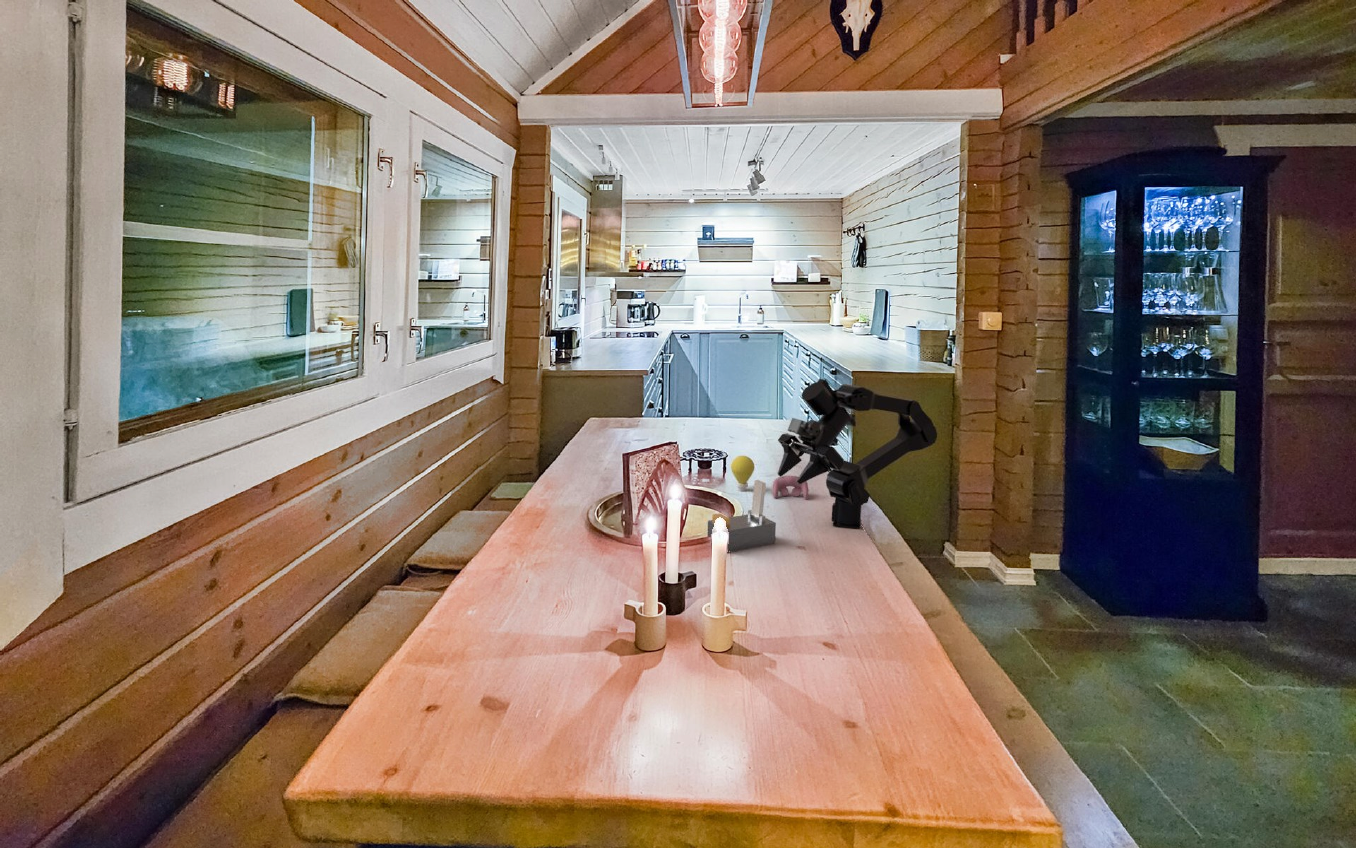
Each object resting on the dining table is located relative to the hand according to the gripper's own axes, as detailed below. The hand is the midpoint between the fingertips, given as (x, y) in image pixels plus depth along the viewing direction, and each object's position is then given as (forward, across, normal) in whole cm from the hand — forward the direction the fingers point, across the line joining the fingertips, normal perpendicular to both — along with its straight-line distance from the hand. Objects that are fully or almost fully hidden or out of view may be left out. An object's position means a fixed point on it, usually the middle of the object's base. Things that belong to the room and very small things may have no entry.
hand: (788, 479), depth 171 cm
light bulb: (+2, -37, +18) cm, 42 cm away
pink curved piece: (-4, -26, +24) cm, 36 cm away
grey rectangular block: (+18, 0, 0) cm, 18 cm away
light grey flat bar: (+9, 0, -3) cm, 10 cm away
